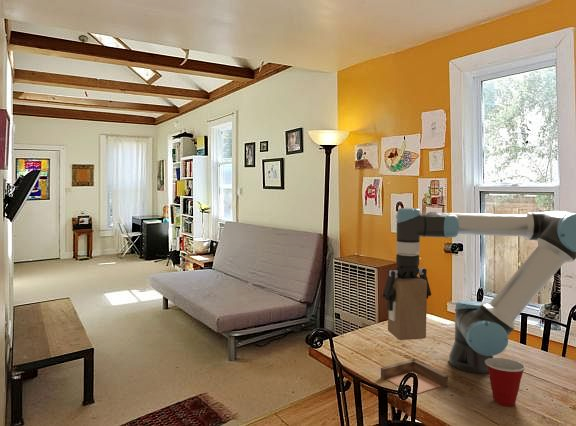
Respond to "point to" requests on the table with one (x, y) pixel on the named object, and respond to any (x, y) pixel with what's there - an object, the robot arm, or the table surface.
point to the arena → (416, 367)
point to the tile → (423, 382)
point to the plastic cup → (505, 379)
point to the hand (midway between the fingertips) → (406, 318)
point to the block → (409, 309)
